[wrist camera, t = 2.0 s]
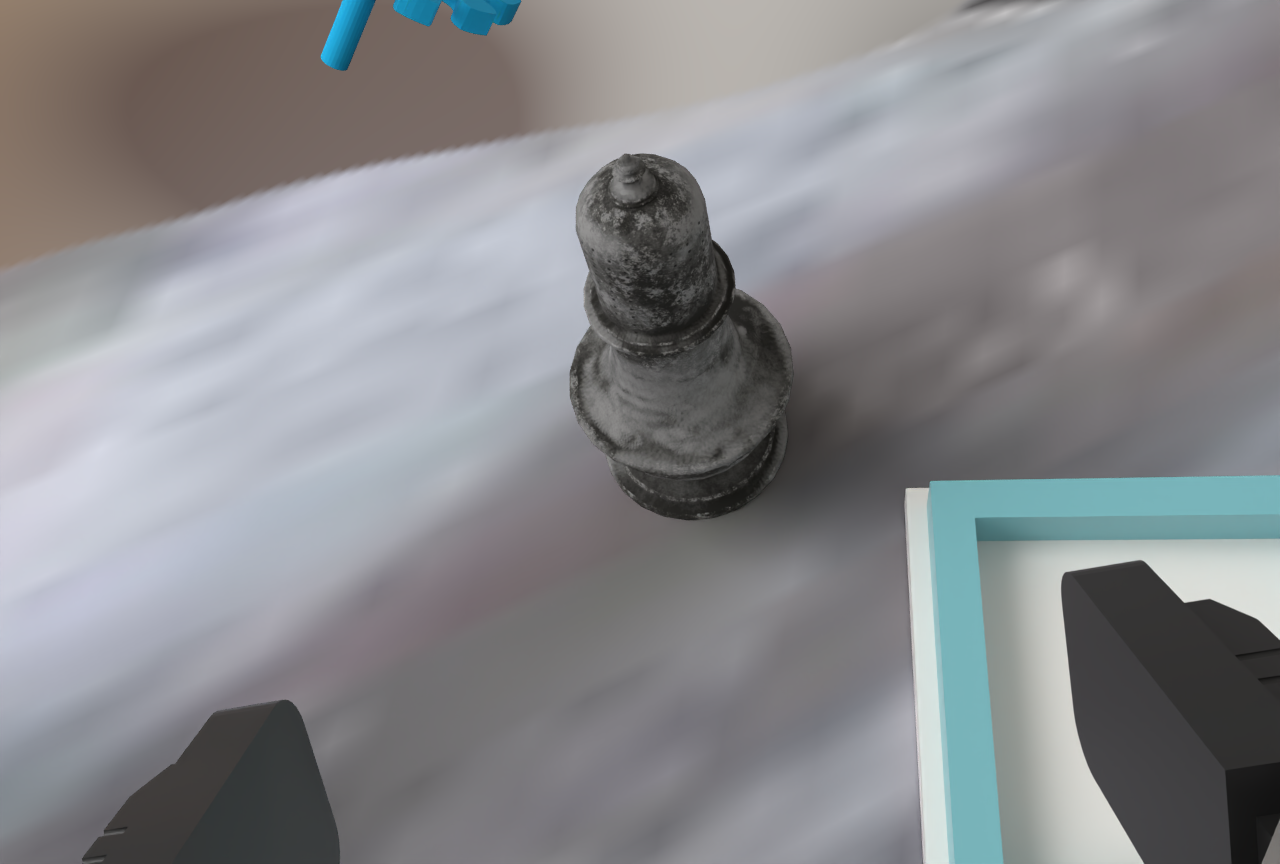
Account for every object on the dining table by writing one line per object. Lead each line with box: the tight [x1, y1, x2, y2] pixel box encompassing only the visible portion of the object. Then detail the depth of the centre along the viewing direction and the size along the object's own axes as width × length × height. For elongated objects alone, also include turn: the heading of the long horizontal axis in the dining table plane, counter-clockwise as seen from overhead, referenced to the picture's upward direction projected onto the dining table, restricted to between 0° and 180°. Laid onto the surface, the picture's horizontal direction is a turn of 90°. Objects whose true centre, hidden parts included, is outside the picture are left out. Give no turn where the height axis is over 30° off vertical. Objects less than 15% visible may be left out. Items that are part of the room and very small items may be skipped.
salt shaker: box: [570, 154, 794, 520], centre depth 28 cm, size 6×6×12 cm
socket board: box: [904, 475, 1280, 864], centre depth 27 cm, size 12×12×2 cm
